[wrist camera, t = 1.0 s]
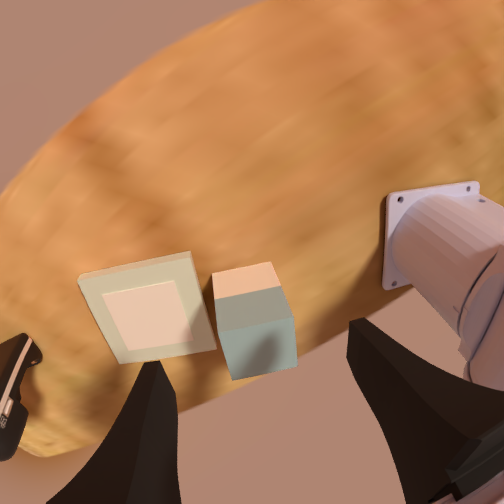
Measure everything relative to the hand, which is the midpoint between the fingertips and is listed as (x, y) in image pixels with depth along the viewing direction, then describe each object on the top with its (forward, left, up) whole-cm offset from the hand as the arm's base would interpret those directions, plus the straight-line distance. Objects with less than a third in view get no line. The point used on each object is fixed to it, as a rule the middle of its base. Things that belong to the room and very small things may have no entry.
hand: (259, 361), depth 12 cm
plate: (+7, +4, -10) cm, 13 cm away
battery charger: (+21, +7, -11) cm, 25 cm away
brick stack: (0, +4, -10) cm, 11 cm away
